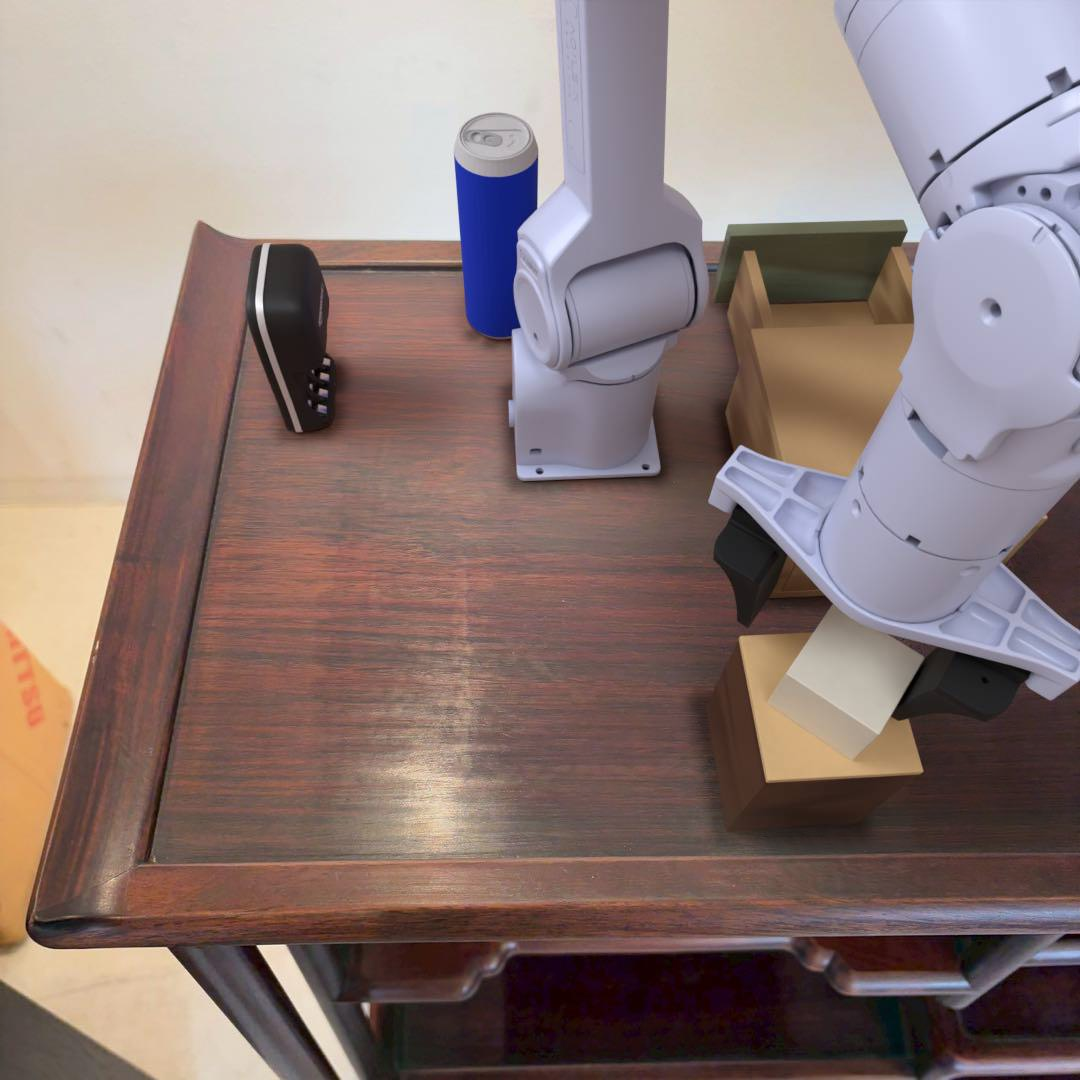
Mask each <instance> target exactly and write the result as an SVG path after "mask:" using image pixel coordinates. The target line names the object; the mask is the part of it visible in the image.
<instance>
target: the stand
mask: <svg viewBox="0 0 1080 1080" xmlns="http://www.w3.org/2000/svg"><path fill="white" fill-rule="evenodd" d="M705 710H706V715H707V721H708V729H709V734H710V740H711V746H712V747H711V748H712V753H713V759H714V762H715V763H714V764H715V765H714V766H715V770H716V777H717V783H718V789H719V794H720V801H721V806H722V812H723V820H724V825H725V830H726V831H727V832H733V831H734V832H735V831H750V830H751V831H752V830H766V829H767V830H768V829H769V830H770V829H784V828H785V829H786V828H801V827H802V828H803V827H804V828H805V827H820V826H836V825H838V826H839V825H854V824H857V823H859V821H861V820H862V819H864V818H865V817H866V816H867V815H869V814H871V813H872V812H873V811H874V810H875V809H877V808H878V807H879V806H881V804H884V802H886V801H887V800H889V799H890V798H891V797H893V796H894V795H895V794H896V793H898V792H899V791H901V789H903V788H905V786H907V785H908V784H910V783H911V782H912V781H914V780H915V779H916V778H917V777H918V776H920V775H921V774H917V775H899V776H881V777H863V778H845V779H827V780H809V781H791V782H773V783H766V779H765V774H764V769H763V764H762V758H761V753H760V748H759V743H758V738H757V732H756V727H755V722H754V717H753V712H752V706H751V701H750V696H749V691H748V686H747V680H746V675H745V670H744V665H743V660H742V654H741V649H740V644H739V639H738V640H737V642H736V644H735V646H734V647H733V650H732V652H731V654H730V656H729V658H728V660H727V662H726V664H725V666H724V668H723V670H722V672H721V674H720V676H719V678H718V680H717V682H716V684H715V687H714V689H713V690H712V692H711V695H710V696H709V699H708V700H707V703H706V704H705Z"/></svg>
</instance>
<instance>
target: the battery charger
mask: <svg viewBox="0 0 1080 1080" xmlns="http://www.w3.org/2000/svg"><path fill="white" fill-rule="evenodd" d="M247 277H248V278H247V284H246V293H245V314H246V315H245V317H246V321H247V325H248V329H249V332H250V335H251V338H252V341H253V343H254V347H255V349H256V351H257V355H258V358H259V360H260V363H261V365H262V368H263V370H264V371H263V372H264V374H265V376H266V379H267V381H268V383H269V386H270V388H271V391H272V393H273V396H274V399H275V402H276V404H277V406H278V409H279V411H280V414H281V417H282V420H283V423H284V426H285V428H286V430H287V431H288V432H295V433H303V432H307V431H316V430H321V429H323V428H326V427H328V426H329V425H330V424H331V423H332V422H333V418H334V413H335V412H334V410H335V409H334V408H335V397H336V381H337V365H336V361H335V359H334V358H332V357H331V355H329V354H328V353H327V342H328V320H329V315H330V297H329V292H328V288H327V284H326V282H325V279H324V277H323V272H322V269H321V267H320V264H319V261H318V258H317V257H316V254H315V253H314V251H313V250H312V249H311V248H310V247H308V246H306V245H304V244H302V243H273V242H263V244H257V245H255V246H254V248H252V251H251V257H250V264H249V271H248V275H247Z"/></svg>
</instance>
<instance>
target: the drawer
mask: <svg viewBox="0 0 1080 1080" xmlns="http://www.w3.org/2000/svg"><path fill="white" fill-rule="evenodd" d="M908 231H909V229H908V226H907V225H906V222H905V220H904V219H874V220H871V219H869V220H836V221H835V220H834V221H831V220H830V221H800V222H799V221H797V222H764V223H763V222H762V223H760V222H759V223H729V224H727V227H726V231H725V236H724V239H723V244H722V246H721V247H722V248H721V252H720V255H719V256H720V257H719V260H718V264H717V269H716V272H715V275H714V276H715V278H714V281H713V285H712V289H711V298H712V301H713V304H715V305H716V304H729V305H728V309H727V311H726V312H727V313H726V315H727V319H728V323H729V327H730V331H731V335H732V336H731V337H732V341H733V345H734V350H735V354H736V357H737V363H738V367H739V366H740V363H741V359H742V356H743V353H744V350H745V346H746V343H747V340H748V336H749V332H750V329H761V328H792V327H822V326H853V325H884V324H914V313H913V304H912V276H913V268H912V267H911V265H910V263H909V259H908V258H907V257H908V256H907V254H906V252H905V249H904V247H903V246H902V245H903V243H904V241H905V239H906V237H907V234H908ZM843 300H844V302H843ZM845 300H867V301H845ZM812 301H813V302H812ZM815 301H816V302H815ZM817 301H838V302H817ZM839 301H841V302H839ZM780 302H781V303H780ZM782 302H783V303H782ZM784 302H804V303H784ZM805 302H807V303H805ZM809 302H811V303H809ZM770 303H774V304H770ZM775 303H776V304H775ZM777 303H778V304H777Z"/></svg>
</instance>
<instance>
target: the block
mask: <svg viewBox="0 0 1080 1080" xmlns="http://www.w3.org/2000/svg"><path fill="white" fill-rule="evenodd" d="M812 632H813V634H812V635H811V637H810V638H809V640H808V641H807V643H806V644H805V646H804V647H803V649H802V650H801V652H800V653H799V655H798V656H797V658H796V659H795V661H794V662H793V663H792V665H791V666H790V668H789V669H788V671H787V672H786V674H785V675H784V677H783V678H782V680H781V682H780V683H779V685H778V686H777V688H776V689H775V691H774V692H773V694H772V695H771V697H770V698H769V700H768V701H767V704H768V705H770V706H771V707H773V708H774V709H776V710H777V711H779V712H780V713H782V714H783V715H785V716H786V717H788V718H789V719H791V720H792V721H794V722H795V723H797V724H798V725H799V726H801V727H802V728H804V729H805V730H807V731H808V732H810V733H811V734H813V735H814V736H816V737H817V738H819V739H820V740H822V741H823V742H825V743H826V744H828V745H829V746H831V747H832V748H833V749H835V750H836V751H838V752H839V753H841V754H842V755H844V756H845V757H847V758H848V759H850V760H852V761H853V760H854V759H855V758H856V757H857V756H858V755H859V754H860V753H861V752H862V751H863V750H864V749H865V748H866V747H867V746H868V745H869V744H871V743H872V742H873V741H874V740H875V739H876V738H877V737H878V736H879V735H880V734H881V732H882V730H883V729H884V727H885V725H886V723H887V722H888V720H889V718H890V717H891V715H892V713H893V712H894V710H895V708H896V707H897V705H898V703H899V702H900V700H901V698H902V697H903V695H904V693H905V692H906V690H907V688H908V686H909V685H910V683H911V681H912V680H913V678H914V676H915V675H916V673H917V671H918V670H919V668H920V666H921V665H922V663H923V661H924V660H925V657H926V656H924V655H922V654H921V653H919V652H917V651H916V650H914V649H912V648H911V647H909V646H908V645H906V644H904V643H903V642H902V641H900V640H898V639H896V638H895V637H893V635H890V634H886V633H883V632H880V631H877V630H873V629H871V628H869V627H866V626H864V625H862V624H860V623H858V622H856V621H855V620H853V619H851V618H850V617H848V616H847V615H846V614H844V613H843V612H842V611H840V610H839V609H838V608H837V607H836V606H835V605H834V604H833V603H832V604H831V606H830V607H829V609H828V610H827V612H826V613H825V615H823V618H822V619H821V621H820V622H819V624H818V625H817V626H816V628H815V630H814V631H812Z"/></svg>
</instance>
